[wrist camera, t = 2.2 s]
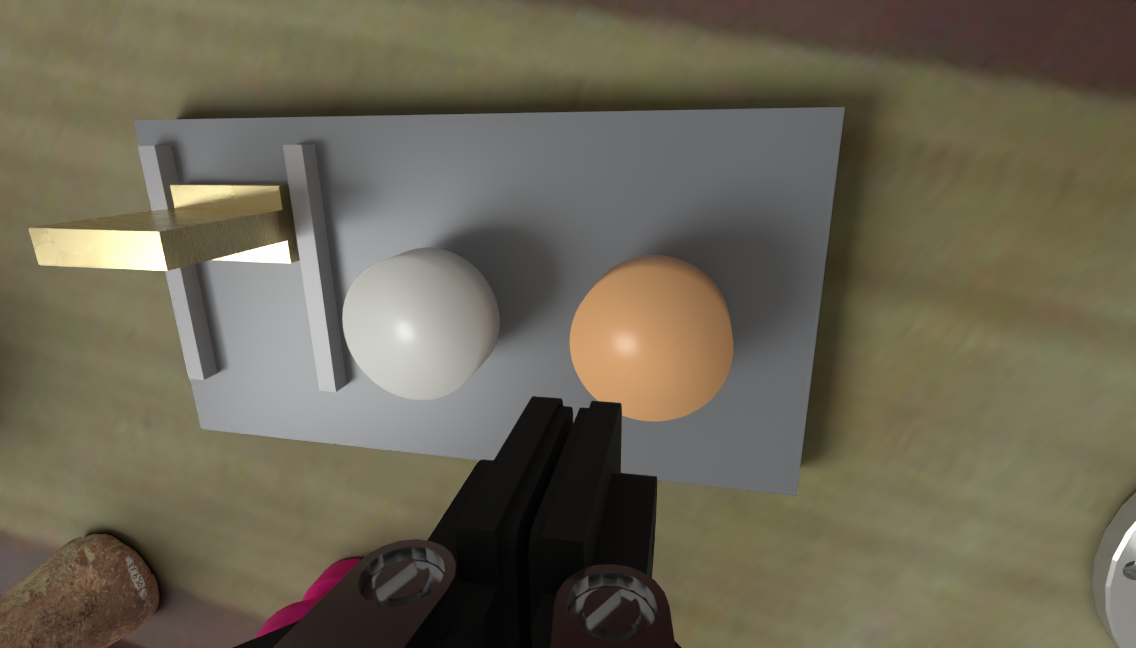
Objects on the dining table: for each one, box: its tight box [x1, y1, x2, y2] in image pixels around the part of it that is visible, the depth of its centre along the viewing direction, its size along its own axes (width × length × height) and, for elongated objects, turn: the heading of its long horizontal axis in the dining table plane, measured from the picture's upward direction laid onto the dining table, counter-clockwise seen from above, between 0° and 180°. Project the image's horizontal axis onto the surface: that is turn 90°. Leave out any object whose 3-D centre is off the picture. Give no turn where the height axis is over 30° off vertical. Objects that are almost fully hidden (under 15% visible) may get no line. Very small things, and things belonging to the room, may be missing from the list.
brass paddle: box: [29, 183, 300, 271], centre depth 21 cm, size 5×3×6 cm, turn 91°
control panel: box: [134, 107, 845, 496], centre depth 24 cm, size 27×14×3 cm, turn 91°
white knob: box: [342, 247, 500, 400], centre depth 21 cm, size 5×5×2 cm
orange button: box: [570, 255, 733, 422], centre depth 19 cm, size 5×5×2 cm
